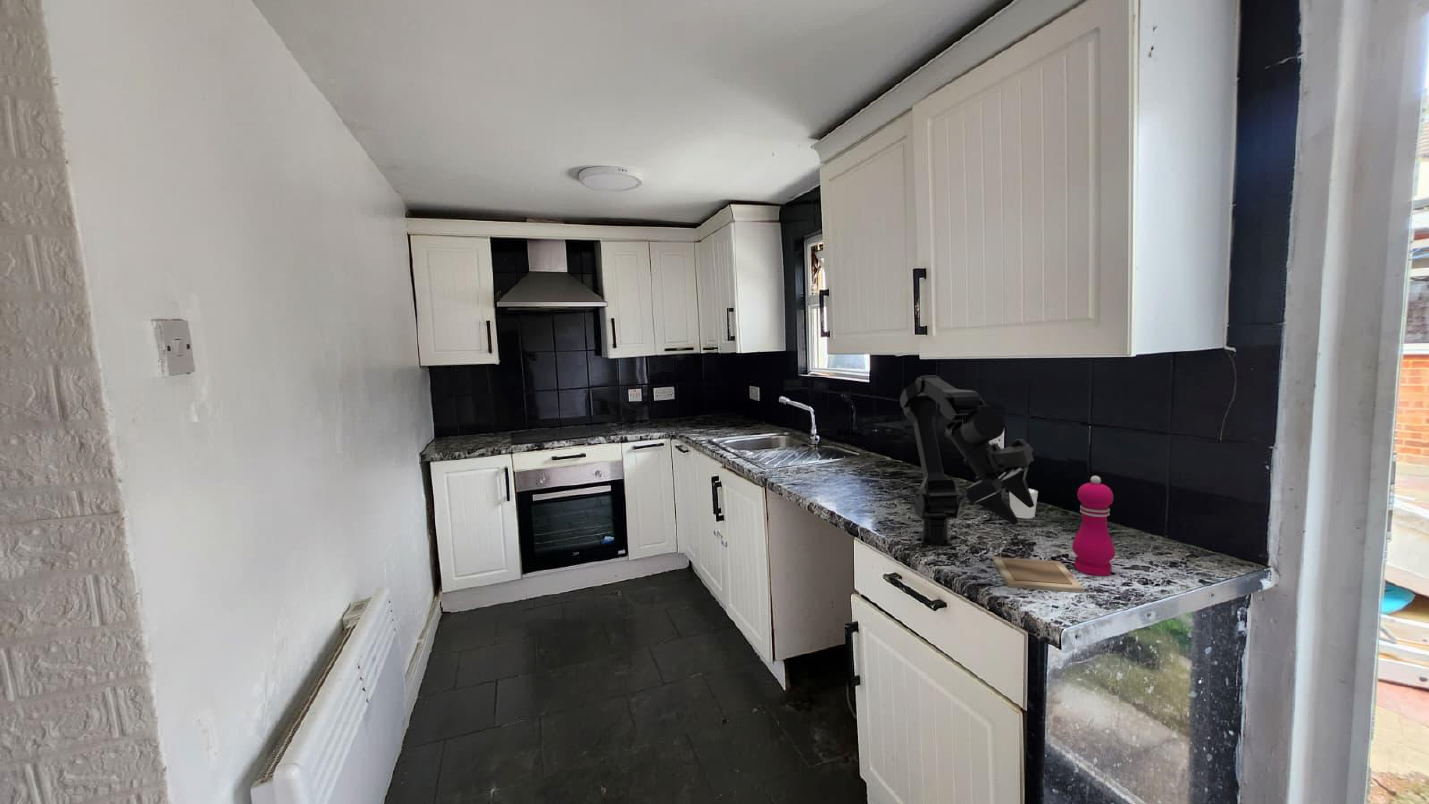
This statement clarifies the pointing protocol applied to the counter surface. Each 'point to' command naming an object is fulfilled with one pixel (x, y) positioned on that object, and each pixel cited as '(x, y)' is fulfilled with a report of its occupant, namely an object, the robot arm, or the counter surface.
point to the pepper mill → (1094, 530)
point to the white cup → (1023, 505)
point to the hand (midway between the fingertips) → (1024, 514)
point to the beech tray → (1037, 574)
